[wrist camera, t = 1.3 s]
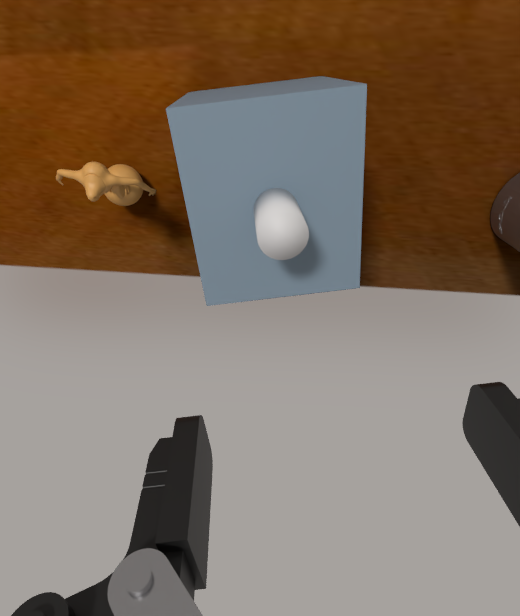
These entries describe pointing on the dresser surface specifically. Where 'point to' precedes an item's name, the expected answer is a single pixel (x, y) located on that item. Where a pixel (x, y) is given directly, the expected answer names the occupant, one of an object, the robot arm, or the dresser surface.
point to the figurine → (109, 182)
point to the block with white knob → (273, 186)
